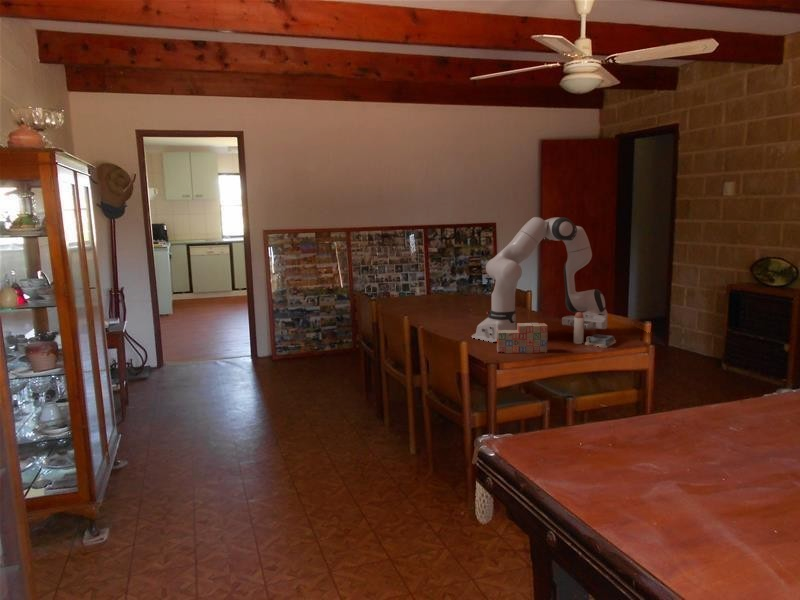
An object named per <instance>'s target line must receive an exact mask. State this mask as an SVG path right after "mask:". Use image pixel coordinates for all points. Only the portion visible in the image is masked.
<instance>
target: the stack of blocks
mask: <svg viewBox="0 0 800 600" xmlns="http://www.w3.org/2000/svg"><path fill="white" fill-rule="evenodd" d="M548 338H549V336H548V325H547V324H546V323H544V322H542V323H541V322H525V323H521V322H518V323H516V330H497V343H496V351H497V353H498V352H501V353H500V354H536V353H537V354H541V353H540V352H545V353H544V354H547V353H548ZM502 352H504V353H502ZM538 352H539V353H538ZM546 352H547V353H546Z"/></svg>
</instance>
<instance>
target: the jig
mask: <svg viewBox="0 0 800 600" xmlns="http://www.w3.org/2000/svg"><path fill="white" fill-rule="evenodd" d="M585 340H586V341H585V342H584V345H585V346H589V345H593V346H592V347H597V346H599V347H598V348H604V349H605V348H606V349H607V348H609V347H611V346H613V345H614V344H616V343H617V340H616V339H615V336H614V335H607V334H601V333H600V334H599V333H595V334H593V335H591V336H586V339H585Z"/></svg>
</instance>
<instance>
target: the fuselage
mask: <svg viewBox="0 0 800 600" xmlns="http://www.w3.org/2000/svg"><path fill="white" fill-rule="evenodd" d="M582 313H583V312H582V311H581V312H577V313H574V316H575V317H574V326H573V344H576V345H583V344H584V341H585V340H584V338H585V334H584V333H585V331H584V330H585V329H584V317H583V314H582ZM582 343H583V344H582Z"/></svg>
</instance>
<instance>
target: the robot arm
mask: <svg viewBox="0 0 800 600" xmlns="http://www.w3.org/2000/svg"><path fill="white" fill-rule="evenodd" d="M543 239H546V240H548V241H555V242H556V241H558V242H560V241H562V242H563V243H564V246H565V248H566V252H567V260H566V262H564V265H563V277H564V281H563V282H564V290H565V299H564V300H565V303H564V304H565V307H566V309H567V310H568V311H569V312H571V313H572V314H576V313H577V312H581V313H582V314H583V317H584V330H588V331H589V330H598V329H599V330H606V329H607V328H608V316H609V315H608V311H607V301H606V297H605V295H604V293H603V292H602V291H601V290H599V289H597V288H596V289H587V290H584V291H576V282H575V281H576V280H575V274H576V273H577V272H578V271H579V270H581V269H582V268H584V267H585V266H588V264H589V263H590V261H591V260H592V257H593V252H592V251H593V250H592V248H591V244H590V240H589V237H588V235H587V233H586V231H585V229H584V228H583V227H582V226H580V225H575V224H574V222H573V221H572V220H571V219H569V218H567V217H565V216H564V217H559V216H558V217H557V216H556V217H549V218H545V219H543V218H542V217H539V216H534V217H532V218H531V219H529V220H528V221H527V222H526V223H525V224H524V225H522V227H521V228H520V229H519V231H518V232H517V233H516V234H515V236H514V237H513V238H512V240H511V241H509V243H508V244H507V245H506V246H505V247H504V248H503V249H502V250H501V251H499V252H498V253H497V254H496V255H495V256H494V257H492V258H491V259H489V260H488V262H487V263H486V264H485V271H486V274H487V275H488V276H489V277H490V278H491V279H492V280H495V282H494V283H495V284H494V288H493V291H492V293H491V304H490V305H491V309H490V310H488V311H487V312H486V315H487V317H486V318H485V319H484V320H482V321H481V322H480V323H478V325H477V326H476V329H475V330H476V331H475V333H473V334H472V335H471V337H472V338H471V339H473V338H475V339H474V340H478V339H480V340H479V341H483V340H484V342H488V341H489V342H488V343H493V342H497V330H517V325H516V321H517V319H516V318H517V314H516V313H517V312H516V291H517V286H518V283H519V280H520V279H521V277H522V274H523V270H522V267H521V266H520V264H521V263H522V262H523V261H525V260H526V259H528V258H529V257H530V255H532V253H533V252H534V251H535V249H536V248H537V247H538V245H539V244H540V242H541V241H542V240H543ZM574 317H575V315H566V316H563V317H562V318H561V324H562V326H570V327H574Z"/></svg>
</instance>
